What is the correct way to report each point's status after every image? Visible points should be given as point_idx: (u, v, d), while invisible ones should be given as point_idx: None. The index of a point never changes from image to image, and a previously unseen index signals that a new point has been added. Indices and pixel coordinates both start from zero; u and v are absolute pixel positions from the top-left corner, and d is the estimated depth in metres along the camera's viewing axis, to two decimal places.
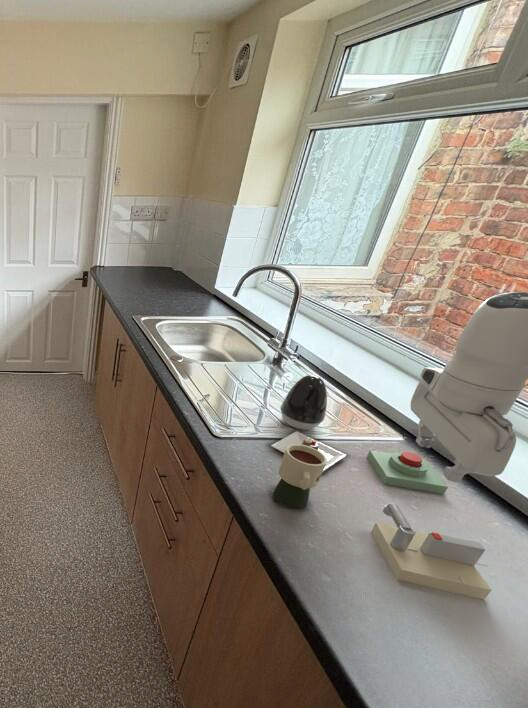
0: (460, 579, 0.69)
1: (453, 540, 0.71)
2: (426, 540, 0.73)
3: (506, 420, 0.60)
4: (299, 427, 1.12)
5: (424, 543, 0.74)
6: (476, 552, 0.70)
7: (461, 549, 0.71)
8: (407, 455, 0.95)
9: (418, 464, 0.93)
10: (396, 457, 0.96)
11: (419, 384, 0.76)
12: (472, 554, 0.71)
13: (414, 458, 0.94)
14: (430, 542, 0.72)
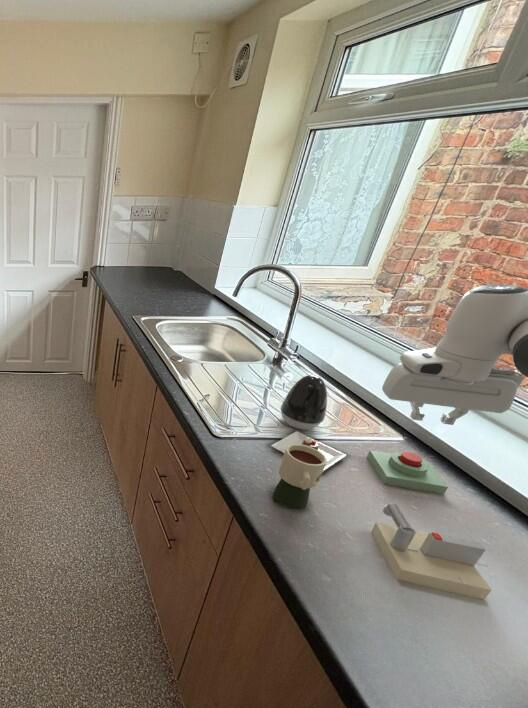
0: (460, 579, 0.69)
1: (453, 540, 0.71)
2: (426, 540, 0.73)
3: (513, 369, 0.81)
4: (299, 427, 1.12)
5: (424, 543, 0.74)
6: (476, 552, 0.70)
7: (461, 549, 0.71)
8: (407, 455, 0.95)
9: (418, 464, 0.93)
10: (396, 457, 0.96)
11: (406, 378, 0.86)
12: (472, 554, 0.71)
13: (414, 458, 0.94)
14: (430, 542, 0.72)
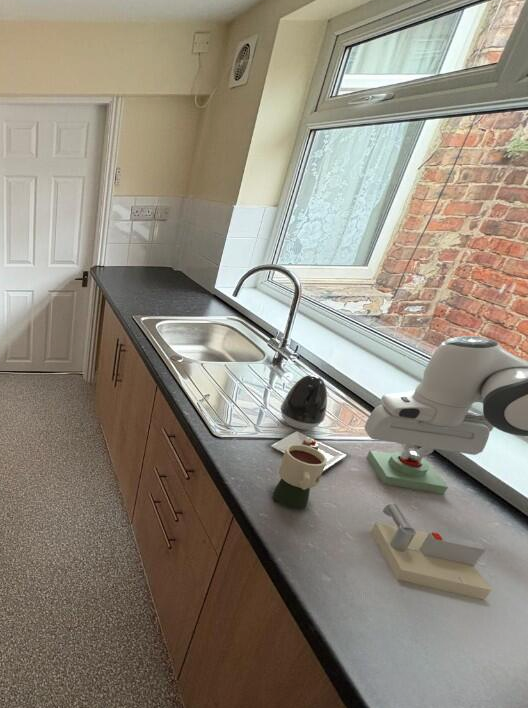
0: (460, 579, 0.69)
1: (453, 540, 0.71)
2: (426, 540, 0.73)
3: None
4: (299, 427, 1.12)
5: (424, 543, 0.74)
6: (476, 552, 0.70)
7: (461, 549, 0.71)
8: None
9: None
10: (396, 457, 0.96)
11: (386, 420, 0.91)
12: (472, 554, 0.71)
13: (412, 461, 0.94)
14: (430, 542, 0.72)
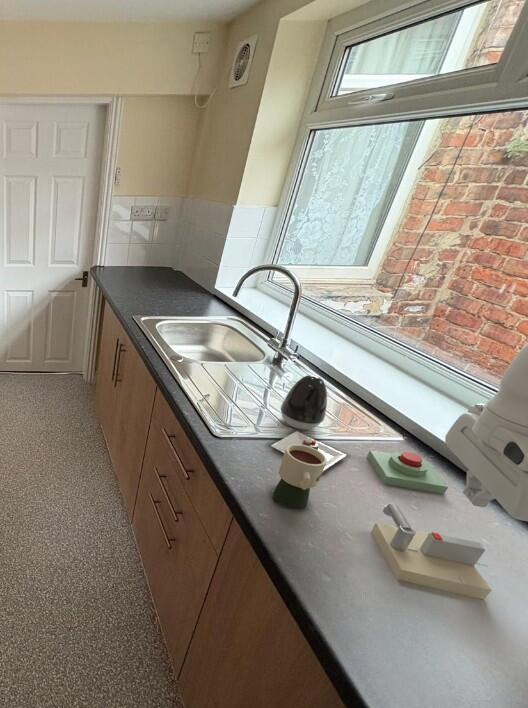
0: (460, 579, 0.69)
1: (453, 540, 0.71)
2: (426, 540, 0.73)
3: (485, 405, 0.70)
4: (299, 427, 1.12)
5: (424, 543, 0.74)
6: (476, 552, 0.70)
7: (461, 549, 0.71)
8: (407, 455, 0.95)
9: (418, 464, 0.93)
10: (396, 457, 0.96)
11: None
12: (472, 554, 0.71)
13: (414, 458, 0.94)
14: (430, 542, 0.72)
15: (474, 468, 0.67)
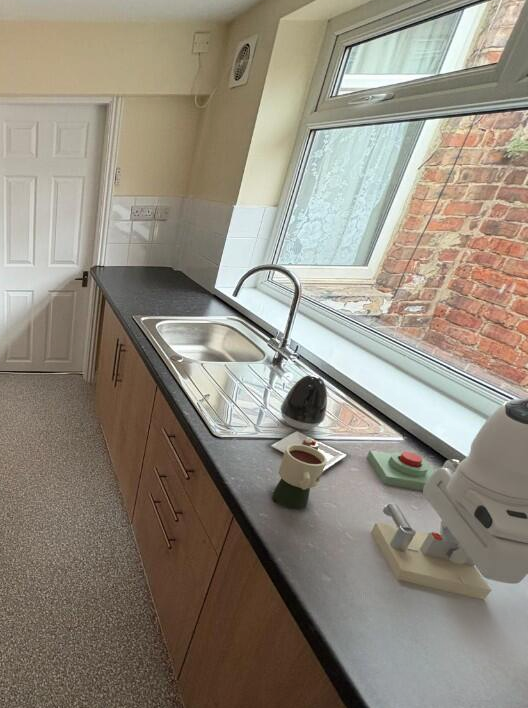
0: (460, 579, 0.69)
1: (453, 540, 0.71)
2: (426, 540, 0.73)
3: (459, 461, 0.73)
4: (299, 427, 1.12)
5: (424, 543, 0.74)
6: None
7: None
8: (407, 455, 0.95)
9: (418, 464, 0.93)
10: (396, 457, 0.96)
11: None
12: None
13: (414, 458, 0.94)
14: (430, 542, 0.72)
15: (449, 523, 0.71)
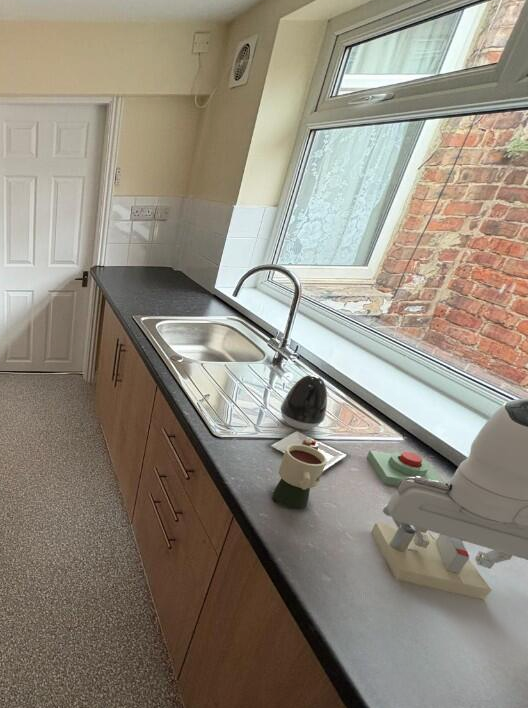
0: (460, 579, 0.69)
1: (459, 543, 0.71)
2: (455, 561, 0.69)
3: (420, 477, 0.70)
4: (299, 427, 1.12)
5: (453, 564, 0.70)
6: None
7: None
8: (407, 455, 0.95)
9: (418, 464, 0.93)
10: (396, 457, 0.96)
11: None
12: None
13: (414, 458, 0.94)
14: (464, 562, 0.69)
15: (463, 536, 0.69)
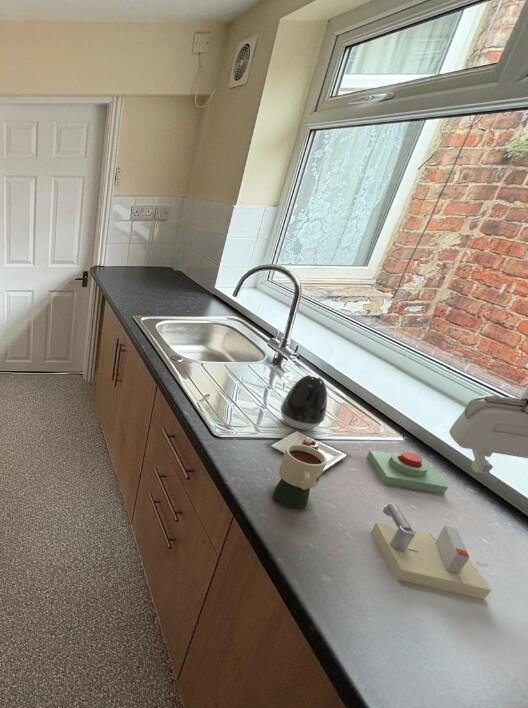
0: (460, 579, 0.69)
1: (459, 543, 0.71)
2: (455, 561, 0.69)
3: (492, 395, 0.63)
4: (299, 427, 1.12)
5: (453, 564, 0.70)
6: None
7: None
8: (407, 455, 0.95)
9: (418, 464, 0.93)
10: (396, 457, 0.96)
11: None
12: None
13: (414, 458, 0.94)
14: (464, 562, 0.69)
15: None
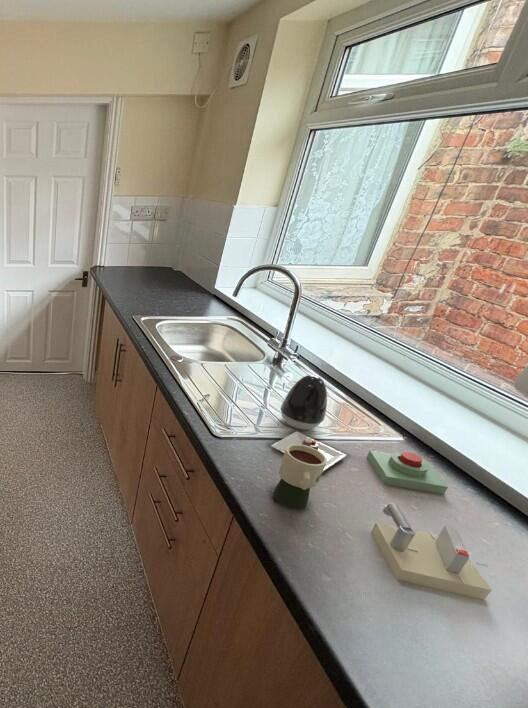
0: (460, 579, 0.69)
1: (459, 543, 0.71)
2: (455, 561, 0.69)
3: None
4: (299, 427, 1.12)
5: (453, 564, 0.70)
6: None
7: None
8: (407, 455, 0.95)
9: (418, 464, 0.93)
10: (396, 457, 0.96)
11: None
12: None
13: (414, 458, 0.94)
14: (464, 562, 0.69)
15: None
